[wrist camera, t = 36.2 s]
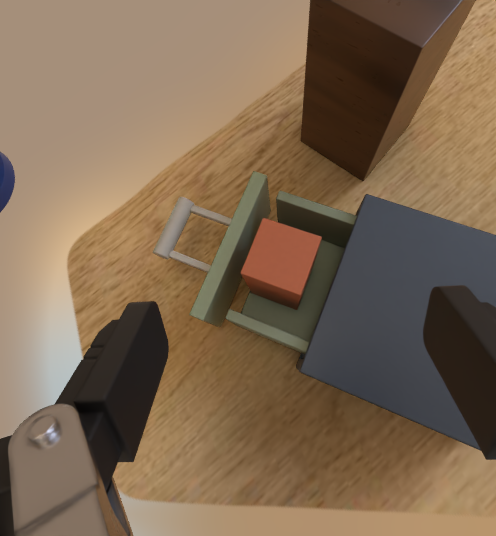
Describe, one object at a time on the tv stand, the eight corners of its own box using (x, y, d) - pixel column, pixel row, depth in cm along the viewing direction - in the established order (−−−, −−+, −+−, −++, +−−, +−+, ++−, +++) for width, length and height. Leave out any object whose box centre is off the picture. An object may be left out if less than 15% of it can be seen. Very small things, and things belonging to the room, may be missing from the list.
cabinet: (295, 367, 32) (299, 371, 23) (346, 233, 34) (365, 193, 26) (462, 439, 29) (536, 474, 20) (503, 288, 32) (585, 263, 23)
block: (251, 293, 32) (240, 273, 24) (268, 249, 33) (262, 217, 25) (297, 310, 31) (300, 295, 23) (313, 265, 32) (322, 236, 24)
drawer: (155, 299, 34) (122, 286, 27) (207, 188, 36) (189, 149, 29) (349, 383, 30) (368, 391, 23) (394, 253, 32) (423, 226, 26)
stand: (363, 181, 35) (422, 48, 20) (300, 140, 37) (310, -11, 22) (408, 125, 36) (499, -44, 21) (345, 88, 38) (385, -92, 23)
